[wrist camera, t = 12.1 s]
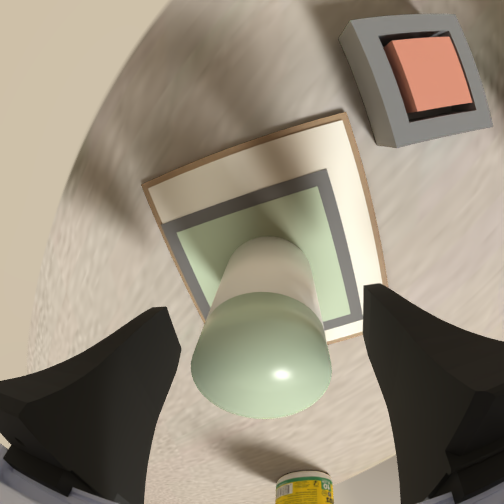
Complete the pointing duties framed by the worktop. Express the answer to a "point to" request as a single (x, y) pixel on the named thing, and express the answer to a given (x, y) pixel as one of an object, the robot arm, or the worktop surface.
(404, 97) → the button
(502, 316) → the worktop surface
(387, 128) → the button housing
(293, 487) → the supplement bottle
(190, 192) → the picture board
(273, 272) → the green and cream cylinder
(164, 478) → the worktop surface
